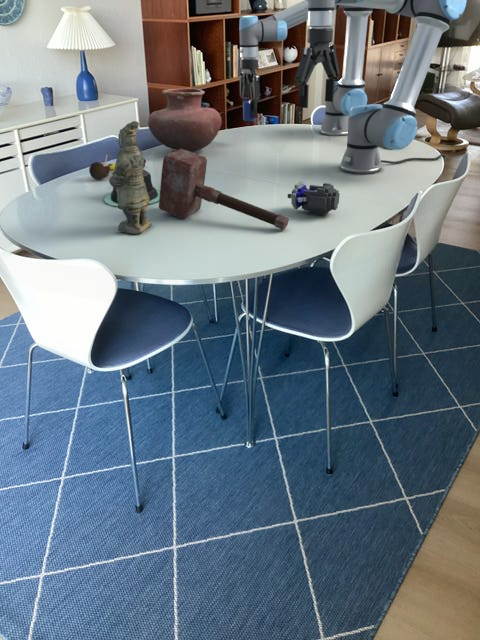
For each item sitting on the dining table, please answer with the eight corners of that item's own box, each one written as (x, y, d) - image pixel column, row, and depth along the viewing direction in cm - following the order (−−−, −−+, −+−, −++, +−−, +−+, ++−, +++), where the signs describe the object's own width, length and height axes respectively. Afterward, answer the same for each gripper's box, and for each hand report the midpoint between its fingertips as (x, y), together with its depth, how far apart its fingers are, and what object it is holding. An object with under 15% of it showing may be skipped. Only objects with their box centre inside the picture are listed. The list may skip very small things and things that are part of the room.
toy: (295, 178, 172) (342, 184, 166) (295, 205, 177) (340, 211, 171) (285, 186, 166) (333, 192, 160) (284, 213, 170) (331, 220, 164)
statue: (131, 220, 168) (117, 116, 152) (158, 224, 164) (147, 118, 149) (109, 233, 159) (93, 124, 144) (138, 237, 156) (124, 126, 140)
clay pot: (228, 143, 251) (226, 84, 239) (213, 161, 226) (210, 95, 213) (163, 142, 256) (158, 84, 243) (142, 159, 231) (135, 95, 218)
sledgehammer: (299, 190, 156) (179, 147, 167) (285, 200, 148) (161, 154, 160) (286, 244, 166) (174, 200, 177) (272, 256, 158) (156, 209, 170)
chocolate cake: (91, 202, 180) (113, 186, 197) (142, 231, 182) (160, 212, 199) (107, 162, 172) (129, 148, 190) (160, 192, 174) (177, 176, 192)
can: (258, 118, 244) (257, 100, 240) (254, 121, 239) (254, 103, 236) (245, 118, 246) (245, 100, 242) (241, 120, 241) (241, 102, 237)
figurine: (152, 155, 217) (104, 161, 197) (152, 175, 220) (105, 183, 201) (127, 151, 223) (79, 157, 204) (128, 170, 226) (80, 177, 207)
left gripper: (230, 57, 236) (232, 114, 248) (252, 60, 221) (253, 121, 233) (245, 56, 239) (246, 112, 251) (268, 59, 225) (268, 119, 236)
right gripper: (333, 25, 172) (329, 97, 183) (283, 29, 157) (282, 108, 167) (354, 25, 168) (348, 100, 179) (304, 30, 152) (302, 111, 163)
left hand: (249, 116), depth 242 cm, fingers closed on can, 6 cm apart
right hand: (316, 104), depth 173 cm, fingers open, 13 cm apart
